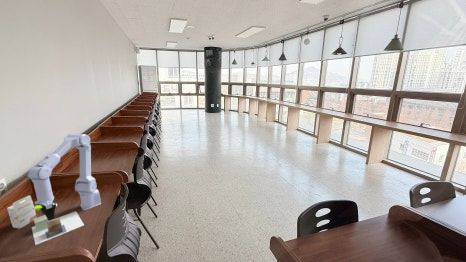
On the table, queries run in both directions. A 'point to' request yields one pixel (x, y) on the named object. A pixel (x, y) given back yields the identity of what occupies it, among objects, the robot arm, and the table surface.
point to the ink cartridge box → (22, 212)
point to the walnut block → (54, 227)
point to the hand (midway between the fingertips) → (49, 215)
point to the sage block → (41, 223)
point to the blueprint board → (67, 223)
